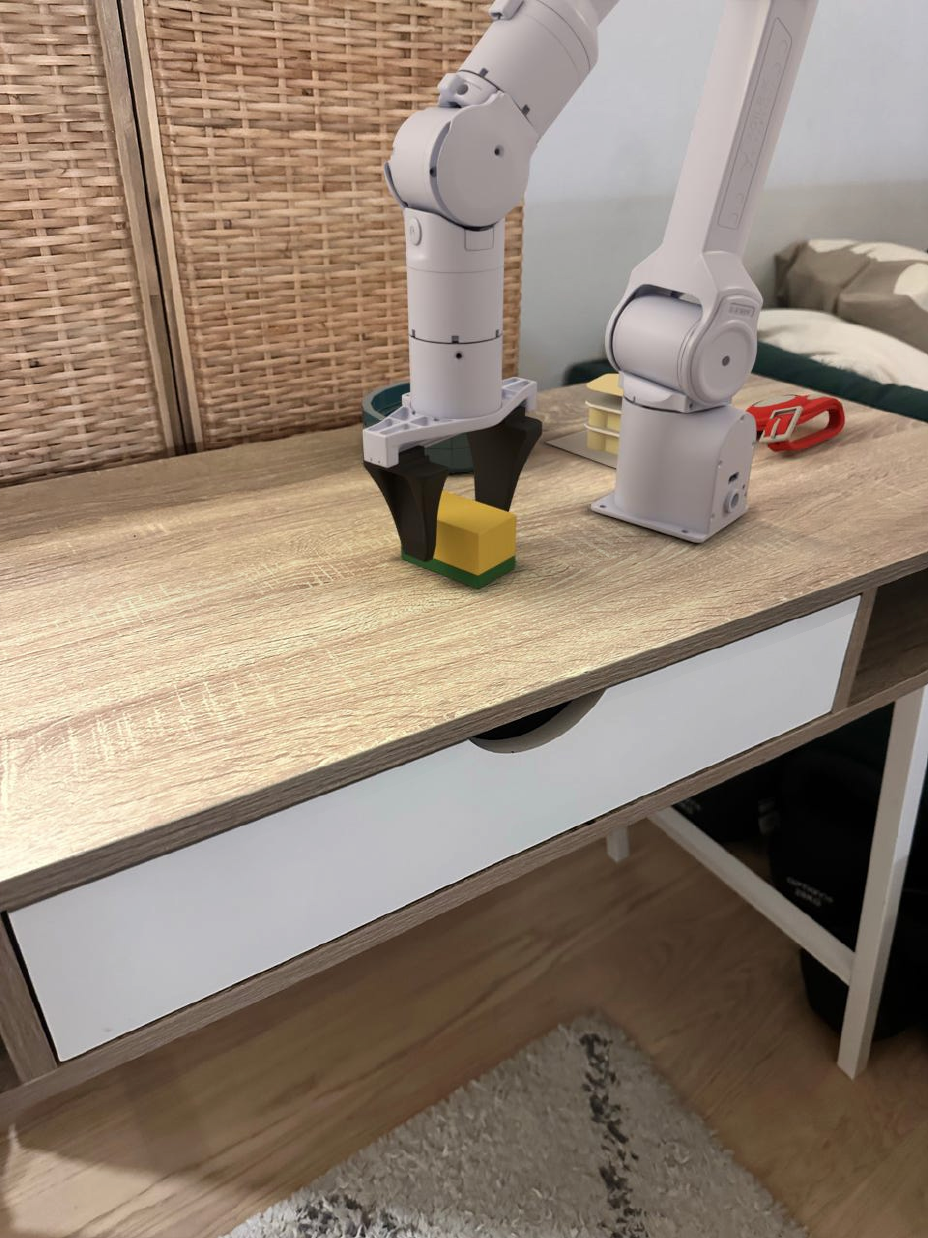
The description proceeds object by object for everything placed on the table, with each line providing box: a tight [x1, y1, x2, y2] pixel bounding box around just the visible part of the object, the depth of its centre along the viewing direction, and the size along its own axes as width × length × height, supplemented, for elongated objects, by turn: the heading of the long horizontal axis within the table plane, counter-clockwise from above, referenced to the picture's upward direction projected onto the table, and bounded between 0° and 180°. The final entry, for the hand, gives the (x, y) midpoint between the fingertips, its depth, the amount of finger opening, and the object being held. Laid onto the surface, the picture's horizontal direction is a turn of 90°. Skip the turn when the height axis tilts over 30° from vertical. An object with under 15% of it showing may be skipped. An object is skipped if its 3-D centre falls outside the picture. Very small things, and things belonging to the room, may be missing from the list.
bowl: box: [361, 379, 530, 474], centre depth 84 cm, size 15×15×4 cm
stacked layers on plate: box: [545, 373, 623, 470], centre depth 83 cm, size 10×9×6 cm
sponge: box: [400, 489, 518, 590], centre depth 64 cm, size 7×4×4 cm, turn 50°
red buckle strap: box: [745, 393, 846, 453], centre depth 85 cm, size 12×4×10 cm
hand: (456, 537), depth 64 cm, fingers open, 7 cm apart
